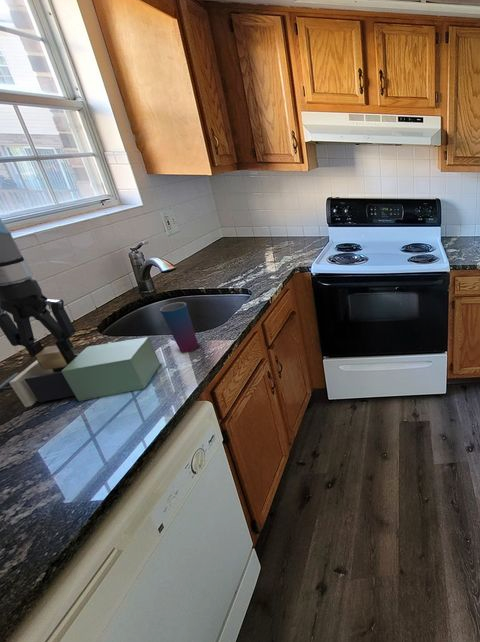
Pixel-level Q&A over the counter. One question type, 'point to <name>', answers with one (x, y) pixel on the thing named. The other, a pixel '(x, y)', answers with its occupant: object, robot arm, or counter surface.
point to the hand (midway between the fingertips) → (59, 362)
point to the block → (51, 358)
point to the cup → (180, 325)
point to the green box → (112, 368)
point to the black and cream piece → (38, 384)
